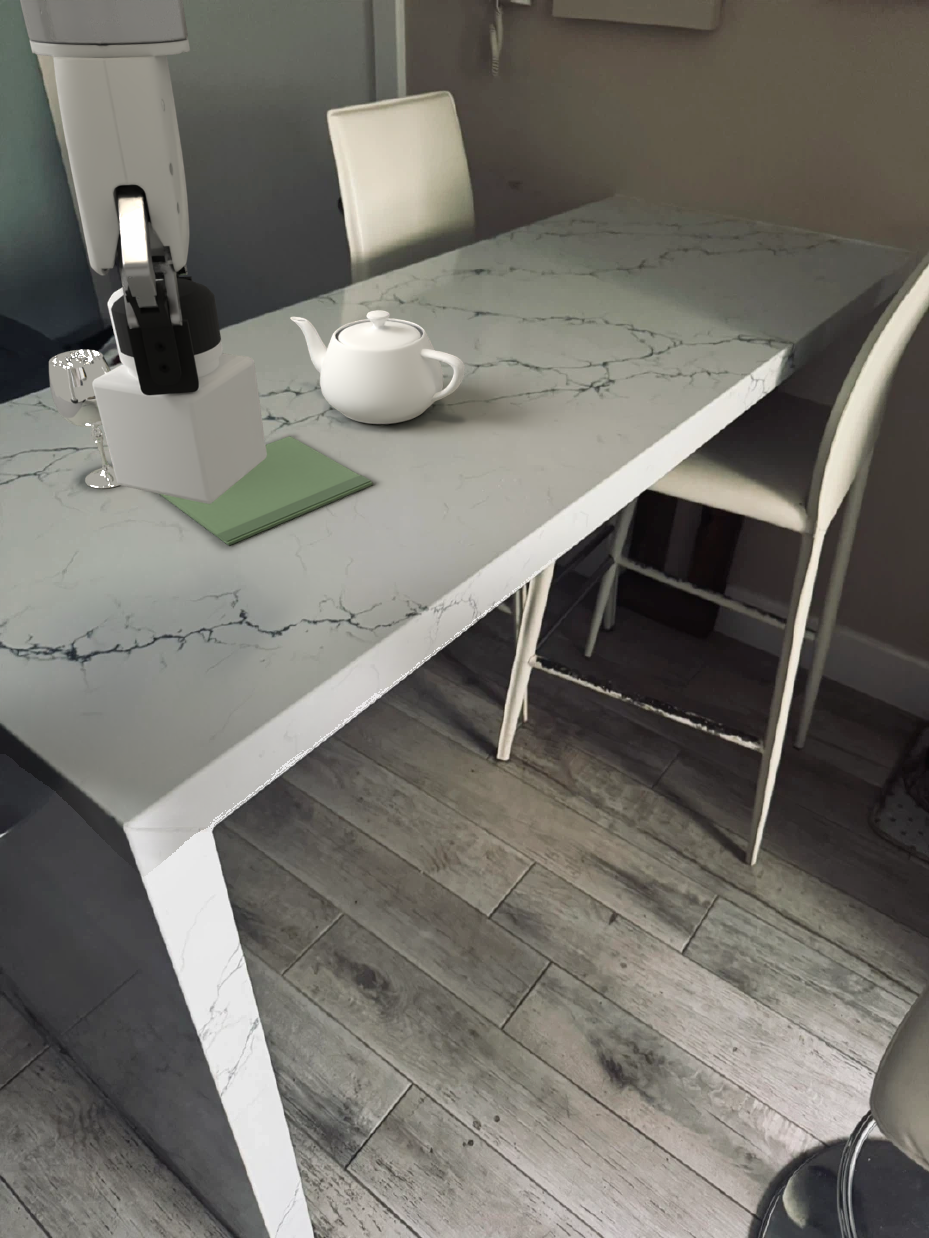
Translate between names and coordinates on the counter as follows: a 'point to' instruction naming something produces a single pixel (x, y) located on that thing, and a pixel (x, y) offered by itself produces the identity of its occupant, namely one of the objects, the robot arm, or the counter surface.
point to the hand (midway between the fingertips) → (174, 364)
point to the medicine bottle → (183, 412)
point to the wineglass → (81, 401)
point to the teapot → (380, 368)
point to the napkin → (274, 492)
